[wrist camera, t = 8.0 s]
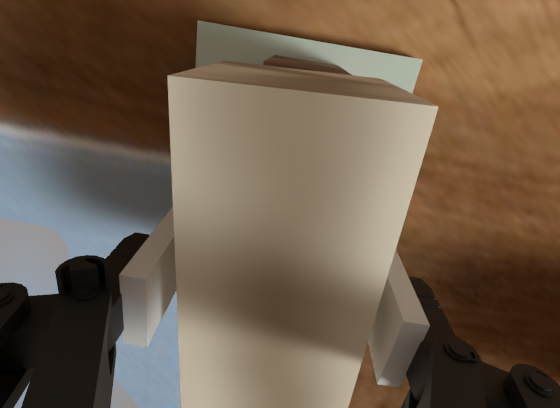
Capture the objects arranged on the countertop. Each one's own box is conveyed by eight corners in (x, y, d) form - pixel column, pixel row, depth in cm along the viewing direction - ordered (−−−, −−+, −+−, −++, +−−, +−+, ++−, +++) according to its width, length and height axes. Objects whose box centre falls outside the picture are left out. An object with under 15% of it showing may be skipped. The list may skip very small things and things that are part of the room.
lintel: (216, 329, 19) (182, 444, 14) (223, 60, 13) (167, 75, 7) (323, 342, 19) (331, 463, 14) (381, 78, 13) (438, 106, 7)
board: (191, 257, 26) (187, 266, 25) (203, 21, 19) (197, 20, 18) (346, 282, 26) (349, 293, 25) (416, 58, 19) (422, 59, 18)
